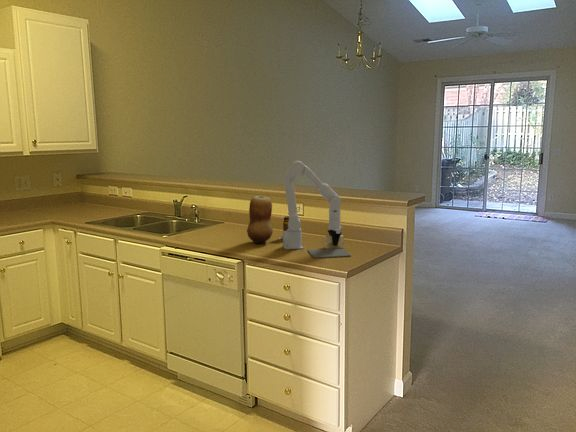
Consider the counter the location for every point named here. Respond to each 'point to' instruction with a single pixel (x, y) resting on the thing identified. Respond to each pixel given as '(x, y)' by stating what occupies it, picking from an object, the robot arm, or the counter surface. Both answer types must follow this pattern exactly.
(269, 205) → the butternut squash
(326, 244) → the tile
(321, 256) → the mat
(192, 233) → the counter surface
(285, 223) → the condiment
